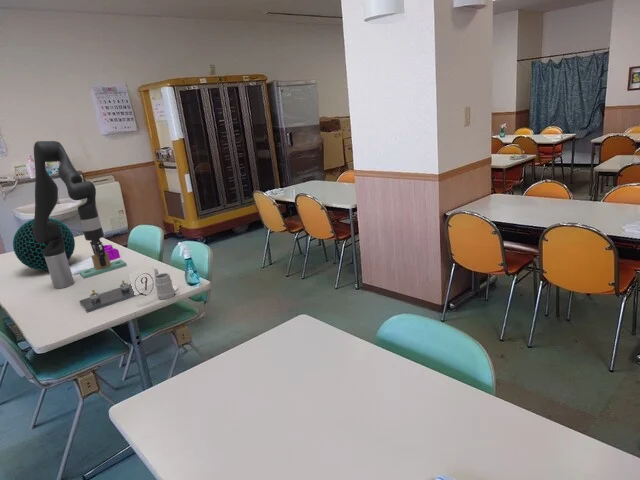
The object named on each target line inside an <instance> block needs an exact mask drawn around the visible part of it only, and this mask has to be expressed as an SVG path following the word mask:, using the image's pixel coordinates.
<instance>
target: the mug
mask: <svg viewBox="0 0 640 480" xmlns="http://www.w3.org/2000/svg"><path fill="white" fill-rule="evenodd" d="M153 271H154V282H155V283H154V285H155V288H156V296H157V298H158V299H159V298H160V299H159V300H168V299H171V298H173V297H174V296H175V295H174V294H175V293H176V291H175V289H174V287H173V280H172V279H171V275H170V273H168V272H163V273H159V271H158V268H157V267H156V268H154V269H153Z"/></svg>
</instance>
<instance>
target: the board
mask: <svg viewBox="0 0 640 480" xmlns="http://www.w3.org/2000/svg"><path fill="white" fill-rule="evenodd" d="M100 255H102V253H101V254H100ZM105 255H106V257H104V258H105V261H106V266H101V265H100V261H99V258H98V255H97V254H96V255H95V254H93V255H92V254H91V260H92V265H93V267H91V268H87V269H84V270H80V271H79V275H80V276H81V277H82V278H83V280H85V279H90V278H92V277H96V276H99V275H102V274H105V273H108V272H112V271H114V270H119V269H121V268H126V267H128V264H127V262H125V260H123V259H118V260H117V259H116V260H113V261H110V260H109V256H108V253H106V252H105Z"/></svg>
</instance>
